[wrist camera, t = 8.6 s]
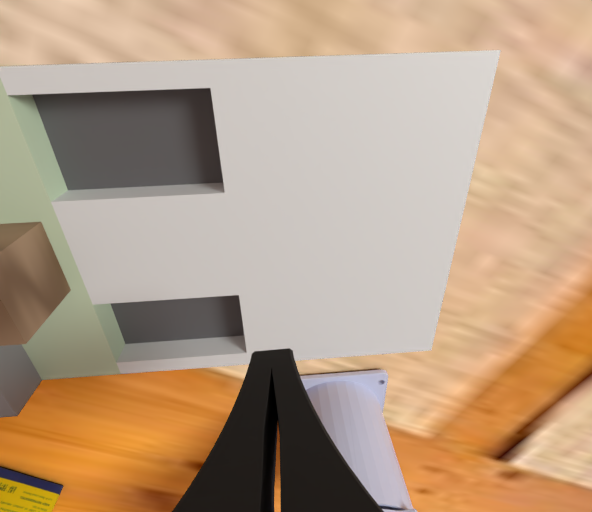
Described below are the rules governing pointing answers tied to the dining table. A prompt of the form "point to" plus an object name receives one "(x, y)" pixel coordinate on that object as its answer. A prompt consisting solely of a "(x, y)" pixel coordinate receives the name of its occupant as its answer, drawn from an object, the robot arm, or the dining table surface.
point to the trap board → (238, 206)
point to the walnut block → (27, 281)
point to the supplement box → (26, 493)
